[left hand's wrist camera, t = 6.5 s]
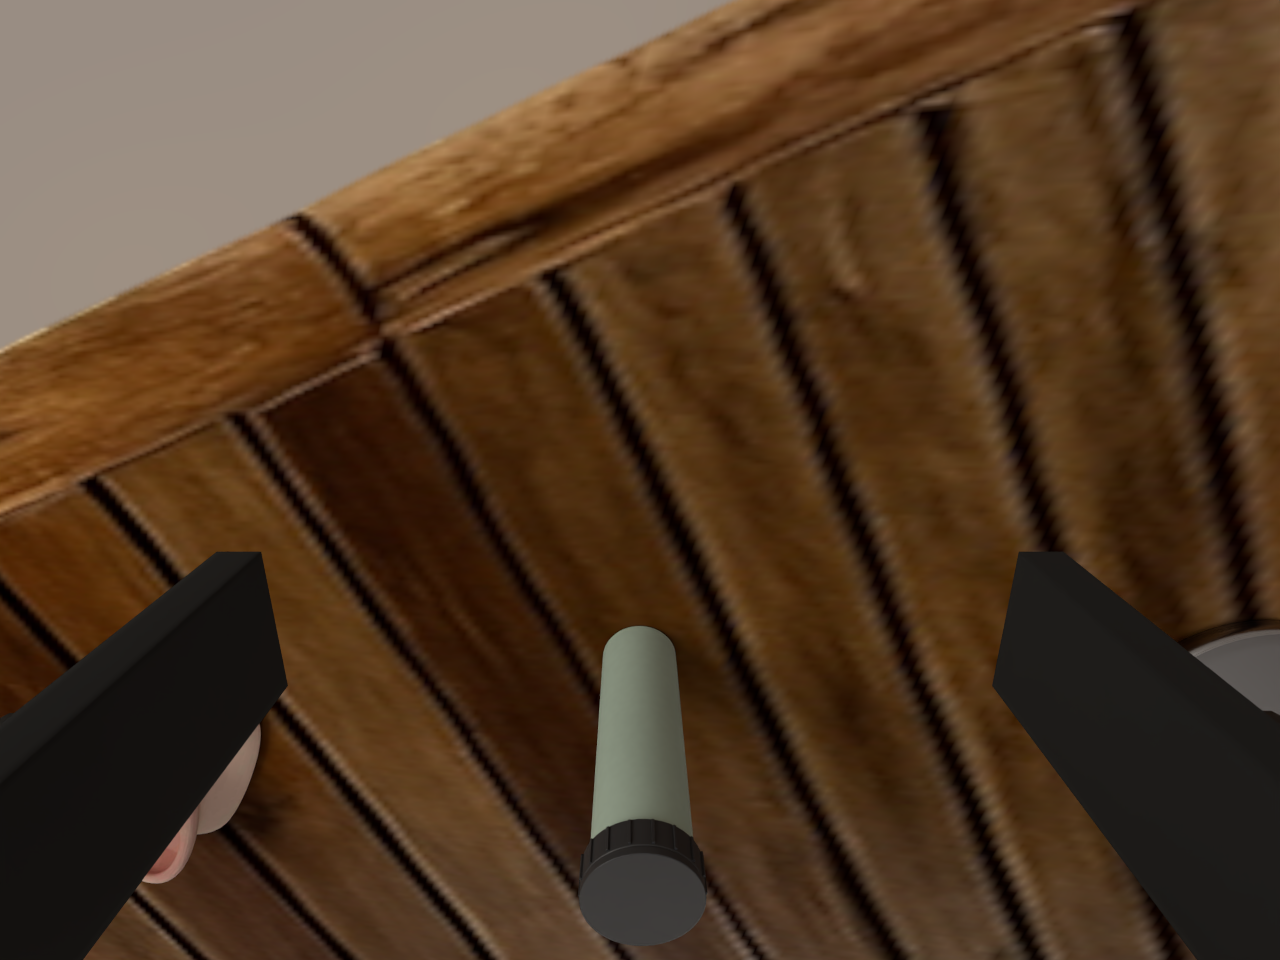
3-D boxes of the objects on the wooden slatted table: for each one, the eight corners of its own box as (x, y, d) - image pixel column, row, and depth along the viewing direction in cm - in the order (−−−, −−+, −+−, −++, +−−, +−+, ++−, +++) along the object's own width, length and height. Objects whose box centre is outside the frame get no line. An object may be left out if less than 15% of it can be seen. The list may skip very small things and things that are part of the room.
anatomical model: (50, 643, 35) (273, 752, 37) (107, 600, 38) (306, 702, 41) (-35, 819, 38) (172, 907, 41) (24, 765, 42) (210, 849, 45)
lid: (555, 850, 27) (551, 887, 26) (661, 796, 26) (663, 832, 25) (624, 925, 29) (623, 964, 27) (726, 876, 28) (732, 914, 26)
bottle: (588, 647, 40) (565, 879, 26) (650, 613, 39) (659, 832, 25) (628, 698, 41) (626, 944, 27) (689, 665, 40) (718, 901, 27)
